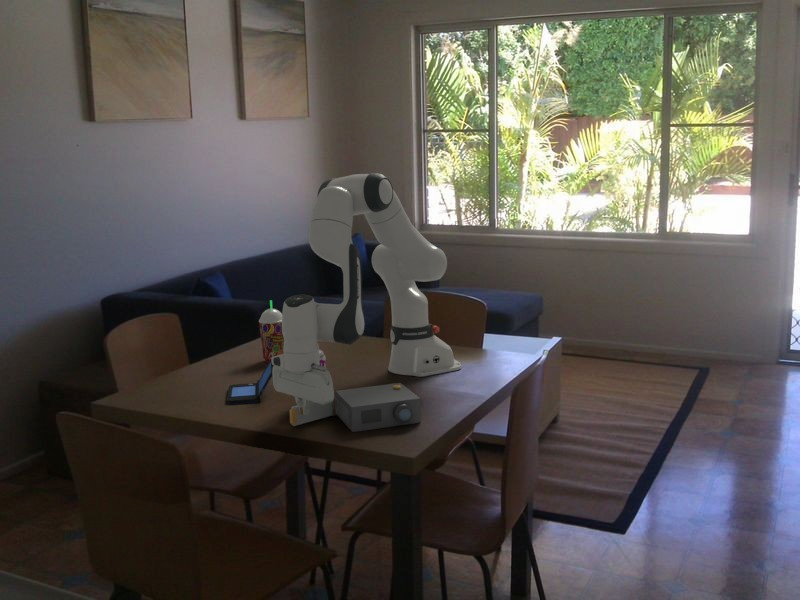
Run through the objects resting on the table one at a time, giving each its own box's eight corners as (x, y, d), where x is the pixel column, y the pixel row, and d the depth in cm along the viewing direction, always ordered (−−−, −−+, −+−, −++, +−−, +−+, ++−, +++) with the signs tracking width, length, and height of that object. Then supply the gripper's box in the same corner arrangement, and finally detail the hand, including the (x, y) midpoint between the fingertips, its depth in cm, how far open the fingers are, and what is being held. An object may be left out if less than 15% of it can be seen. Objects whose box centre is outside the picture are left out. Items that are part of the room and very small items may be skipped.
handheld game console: (229, 389, 261) (227, 358, 259) (275, 386, 263) (273, 355, 261) (226, 405, 246) (224, 373, 244) (275, 402, 247) (274, 370, 246)
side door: (335, 415, 234) (335, 396, 233) (292, 427, 225) (291, 407, 224) (333, 414, 235) (332, 395, 234) (290, 426, 226) (289, 406, 225)
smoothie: (275, 365, 285) (272, 303, 281) (255, 362, 289) (252, 301, 285) (292, 359, 292) (289, 299, 288) (272, 356, 296) (269, 297, 292)
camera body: (401, 405, 241) (400, 380, 239) (424, 425, 225) (423, 398, 223) (335, 414, 235) (334, 388, 234) (354, 435, 219) (353, 407, 217)
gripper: (338, 365, 218) (341, 419, 221) (286, 352, 232) (289, 403, 235) (319, 370, 214) (321, 425, 216) (267, 357, 228) (270, 409, 230)
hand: (304, 414), depth 226 cm, fingers closed
